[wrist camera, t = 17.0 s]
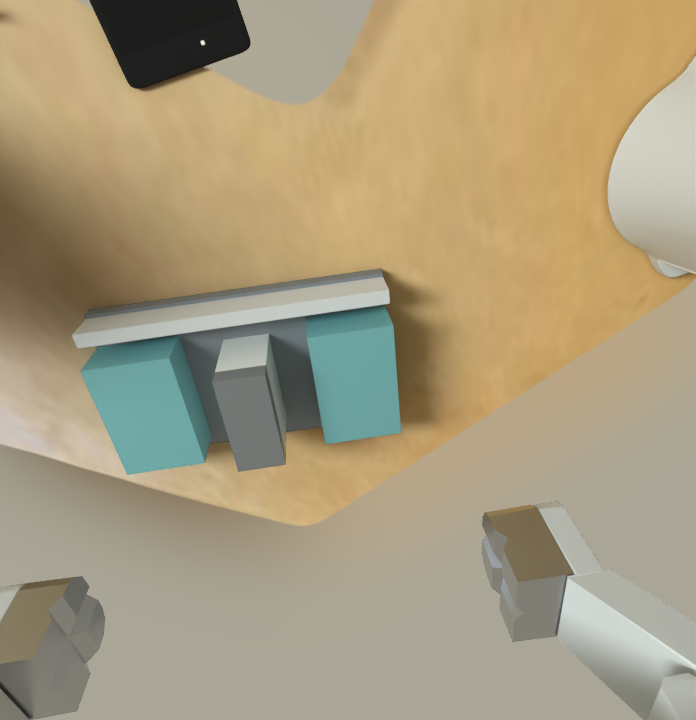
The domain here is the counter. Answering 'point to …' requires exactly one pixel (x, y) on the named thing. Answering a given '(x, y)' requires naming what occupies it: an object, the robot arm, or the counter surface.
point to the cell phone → (170, 35)
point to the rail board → (201, 352)
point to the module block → (251, 402)
